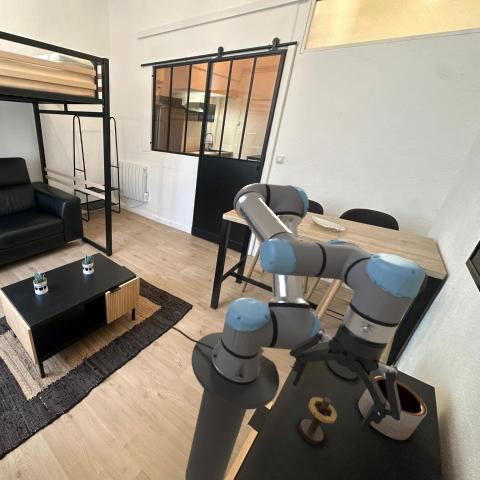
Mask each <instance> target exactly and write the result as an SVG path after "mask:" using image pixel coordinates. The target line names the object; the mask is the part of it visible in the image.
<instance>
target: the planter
mask: <svg viewBox="0 0 480 480" xmlns="http://www.w3.org/2000/svg"><path fill="white" fill-rule="evenodd" d="M374 378H375V380H376V382H377V384H378V386H379V388H380V390H381V392H382V394H383V396H384V398H385V400H386V402H387V404H388V405H389V400H388V395H387V390H386V385H385V380H386V379H385V378H383V376H382V375H378V376H374ZM396 385H397V390H398V395H399V401H400V406H401V417H400V420H395V419H393V418H392V416H389V415H386V418H383V419H382V420H381V422H380V424H376V423H374V422H373V421H372V422H371V423H370V425H369V426H371V427H372V428H374V429H375V430H376V431H377V432H379V433H380V434H382V435H383V436H386V437H388V438H390V439H392V440H396V441H405V440H407V439H409V438H410V437H411V436H412V435H413V433H414V431H416V429H417V428H418V426H419V425H420V424H421V422H422V421H423V419H424V418H425V417H426V415H427V414H428V408H427V406H426V404H425V402H424V401H423V399H422V398H421V397H420V396H419V395H418V394H417V393H416V392H415V391H414V390H413V389H412V388H410V387H408V386H407V385H406V384H404V383H403V382H400V381H398V380H396ZM373 403H374V401H373V399H372V397H371V395H370V393H369V391H368V389H367V388H366V389H365V390H364V392H363V393H362V395H361V396H360V399H359V400H358V410H359V411H360V414H361V415H362V416H363V419H364V418H365V416H366V414H367V413H368V411H369V409H370V408H371V406H372V405H373Z"/></svg>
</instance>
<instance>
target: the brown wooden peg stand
mask: <svg viewBox="0 0 480 480" xmlns="http://www.w3.org/2000/svg"><path fill="white" fill-rule="evenodd" d="M322 399H323V401H322V403H321V404H315V405H314V406H315V407H316V409H317V411H318V412H319V413H321V414H322V415H323V416H329V417H330V416H331V414H330V413H329V411H328V407H329V405H330V404H332V400H331V399H330V398H329V397H327V396H324V397H323V398H322ZM310 413H311V415H312V416H313V419H309V418H304V419H302V421H301V422H300V424H299V426H298V429H299V433H300V434H301V436H302V438H304V440H305V441H307V442H308V443H310V444H311V445H315V446H316V445H317V446H318V445H321V443H322V442H323V440H324V437H325V436H324V435H325V434H324V431H323V429H322V428H321V426H320V424H321V423H322V424H325V425H328V424H329V423H324V421H323V422H321V421H320V420H319V419H317V418H316V417H315V416H314V415H313V414H312V412H311V411H310Z"/></svg>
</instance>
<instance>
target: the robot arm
mask: <svg viewBox="0 0 480 480" xmlns="http://www.w3.org/2000/svg"><path fill="white" fill-rule="evenodd" d="M309 203H310V201H309V197H308V194H307V192H306V191H305V190H304V188H302V187H299V186H295V185H289V184H288V185H285V184H284V185H282V184H272V183H262V182H257V183H251V184H248V185H246V186H244V187H243V188H241V189H240V190H239V191H238V192H237V193H236V195H235V196H234V200H233V209H234V212H235V213H236V215H237V216H238V217H239V218H240V219H242V220H244V221H245V223H246V224H247V226H248V227H249V229H250V231H251V232H252V234H253V235H254V236H255V238H256V240H257V241H258V243H259V245H260V249H259V253H258V258H259V261H260V263H259V265H260V267H261V269H262V270H263V271H264V272H265V273H268V274H271V285H272V286H271V287H272V297H271V299H270V300H269V301H268V302H267V304H266V303H265V302H263V301H262V300H257V299H256V298H252V297H240V298H237V299H234V300H233V301H232V302H230V304H229V305H228V308H227V311H226V313H225V316H224V324H223V328H222V331H221V332H222V337H221V339H220V340H219V342H218V343H217V344H216V346H215V347H211V346H209V345H206V344H204V343H202V342H199V340H196V339H194V338H191V337H190V336H188V335H187V334H186V333H184V332H183V331H182V330H180V329H178V328H177V327H175V326H172V325H170V324H169V323H167V322H164V323H163V325H164V326H166V327H169V328H170V329H173V330H175V331H177V332H178V333H180V334H181V335H182V336H183V337H185V338H187V339H188V340H189V341H191V342H193V343H195V344H196V343H198V344H201V345H204V346H206V347H208V348H211V349H213V351H212V355H211V362H212V365H213V367H214V369H215V371H216V372H217V373H218V374H219V375H220V376H221V377H222V378H224V379H225V380H227V381H229V382H231V383H234V384H240V385H245V384H250V383H252V382H253V381H255V379H256V378H257V376H258V374H259V371H260V369H261V365H260V366H259V357H258V352H259V349H260V347H261V348H267V349H279V350H288V351H289V350H290V351H289V356H290V357H293V358H295V362H294V366H293V372H296V375H295V377H294V379H293V383H292V385H293V386H294V387H297V385H298V384H299V382H300V380H301V378H302V376H303V373H304V372H305V369H306V366H307V365H308V363H314V362H319V361H327V362H328V361H329V360H336V361H337V363H338V364H340V365H342V366H344V367H346V368H348V369H349V370H350V371H352V372H357V374H358V375H359V377H360V379H361V381H362V382H363V383H364V385H365V387H366V389H368V391H369V393H370V395H371V397H372V399H373V401H374V403H373V405H372V406H371V408H370V409H369V411H368V413H367V414H366V416H365V418H364V417H363V419H362V421H361V424H360V428H359V431H360V432H362V433H363V434H365V433H366V431H367V429H368V428H369V426H371V425H370V423H371V422H372V421H373V422H374V423H376V424H380V422H381V420H382V419H383V418H386V415H389V416H392V418H393V419H395V420H400V417H401V406H400V401H399V395H398V390H397V385H396V381H397V380H396V379H397V376H398V371H399V369H398V367H397V366H395V365H392V364H390V365H386V364H384V363H382V362H380V358H382V357H381V356H382V355H383V353H384V352H385V350H386V348H387V346H388V343H389V342H390V340H392V337H393V336H394V334H395V332H396V330H397V328H398V327H399V325H400V323H401V321H402V318H403V317H404V315H405V313H406V312H407V311H408V309H409V308H410V306H411V304H412V303H413V302H414V300H415V298H416V297H417V296H418V295H419V293H420V289H421V286H422V284H423V282H424V280H425V278H426V271H425V269H424V267H422V265H420V264H419V263H417V262H415V261H413V260H411V259H407V258H404V257H403V256H399V255H396V254H393V253H383V252H382V253H381V252H379V253H375V254H373V255H372V254H371V253H369V252H368V251H366V250H364V249H363V248H362V247H360V246H359V245H358V244H356V243H354V242H351V241H349V240H346V239H344V238H333V239H331V240H328V241H326V242H316V241H315V242H312V241H302V240H301V239H300V238H299V231H298V230H299V229H298V226H299V225H301V224H302V222H303V219H304V218H306V215H308V212H309V211H308V209H309V206H310V204H309ZM303 277H306V278H307V277H309V278H318V279H328V280H330V279H331V280H332V279H333V280H337V281H338V280H339V281H341V282H342V283H343V284H345V285H346V286H347V287H348V288H349V289H350V290H352V291H354V293H353V295H352V299H351V300H350V302H349V304H348V306H347V308H346V311H345V313H344V315H343V318H342V321H340V323H339V326H338V328H337V330H336V332H335V334H334V335H333V337H331V336H329V335H328V334H326V331H325V330H324V329H323V328H322V323H321V320H320V318H319V315H318V314H317V313H316V312H314V311H312V310H311V306H310V303H309V302H308V301H306V299H305V298H304V290H303V279H302V278H303ZM324 343H327V344H328V347H326V348H323V349H317V350H313V349H315V348H316V347H317V345H318V344H324ZM305 351H306V352H305ZM377 370H378V371H379V372H380V374H381V375H380V376H383V378H385V379H386V380H385V385H386V390H387V395H388V400H389V405H388V404H387V402H386V400H385V398H384V396H383V394H382V392H381V390H380V388H379V386H378V384H377V382H376V380H375V378H374V377H375V376H374V372H373V371H377Z"/></svg>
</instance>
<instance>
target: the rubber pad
mask: <svg viewBox="0 0 480 480" xmlns="http://www.w3.org/2000/svg"><path fill="white" fill-rule="evenodd" d="M327 366H328V368H329V369H330V371H331V372H332V373H334V374H335V375H336V376H338V377H339V378H341V379H344V380H347V381H355V380H356V379H357V377H358V373H357V372H352V371H350V370H349V369H348V368H346V367H344V366H342V365H340V364H338V363H337V361H336V360H329V361H327Z"/></svg>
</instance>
